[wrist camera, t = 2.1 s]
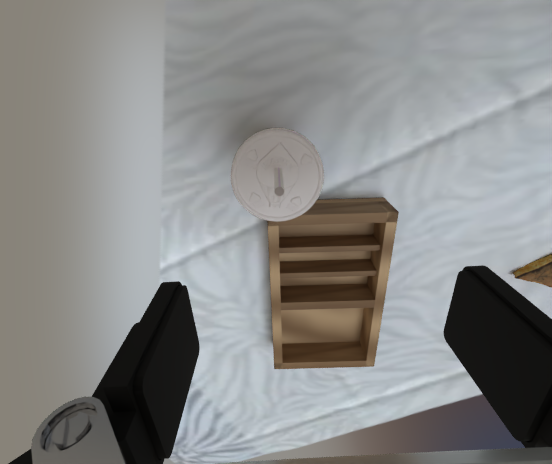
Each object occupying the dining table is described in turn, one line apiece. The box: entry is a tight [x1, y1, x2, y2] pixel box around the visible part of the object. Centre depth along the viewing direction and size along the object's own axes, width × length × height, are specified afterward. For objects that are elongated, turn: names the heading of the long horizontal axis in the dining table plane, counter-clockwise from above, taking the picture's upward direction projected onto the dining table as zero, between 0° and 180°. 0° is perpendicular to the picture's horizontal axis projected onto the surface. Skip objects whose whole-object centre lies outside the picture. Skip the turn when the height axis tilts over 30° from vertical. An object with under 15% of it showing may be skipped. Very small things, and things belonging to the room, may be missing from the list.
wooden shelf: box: [268, 198, 399, 369], centre depth 33 cm, size 20×12×4 cm, turn 2°
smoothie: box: [231, 128, 324, 222], centre depth 22 cm, size 6×6×14 cm
